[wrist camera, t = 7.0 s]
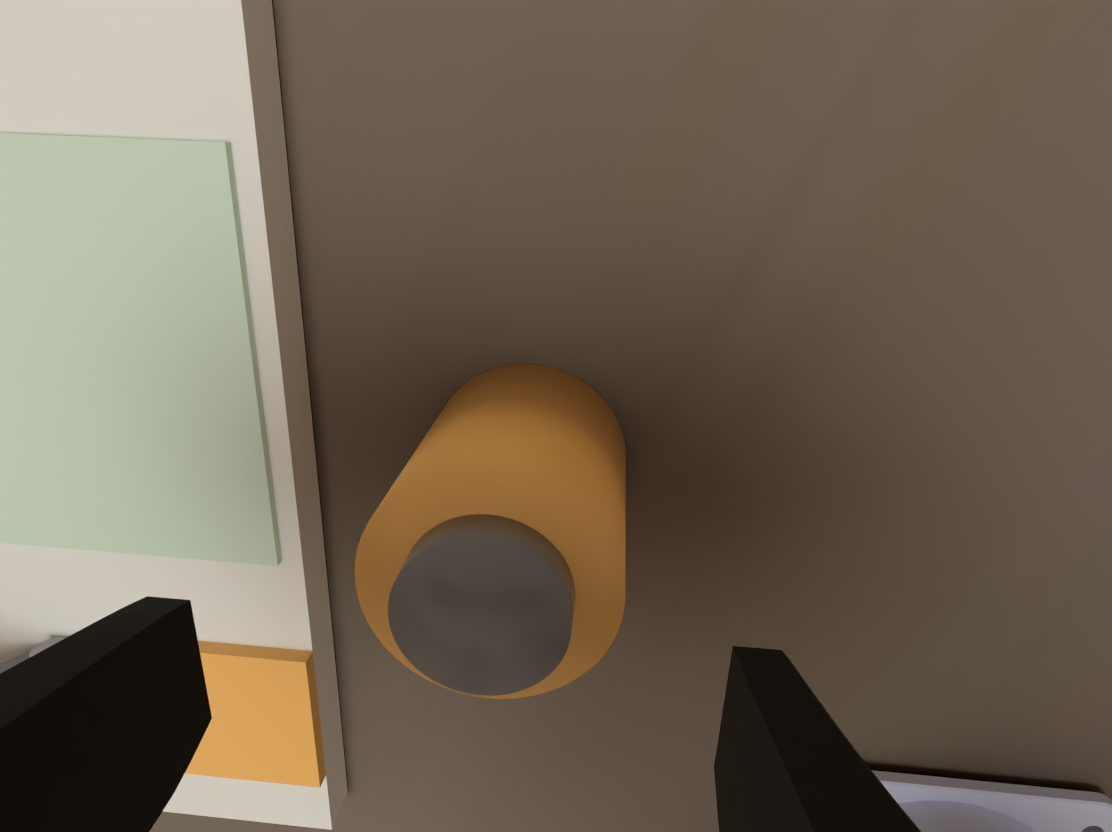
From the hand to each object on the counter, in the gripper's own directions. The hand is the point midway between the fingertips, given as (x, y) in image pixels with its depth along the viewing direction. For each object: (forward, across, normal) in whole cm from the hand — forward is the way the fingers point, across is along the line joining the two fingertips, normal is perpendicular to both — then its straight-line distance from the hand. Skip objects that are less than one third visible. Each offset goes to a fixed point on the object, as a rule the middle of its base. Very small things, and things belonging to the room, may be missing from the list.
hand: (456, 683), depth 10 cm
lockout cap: (+7, 0, 0) cm, 7 cm away
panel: (+7, +13, +1) cm, 15 cm away
